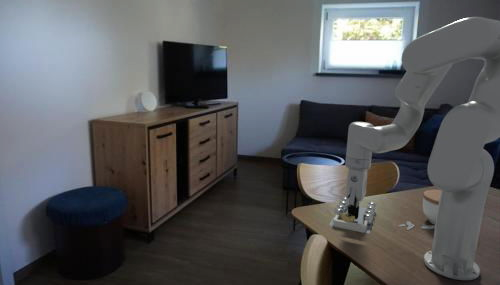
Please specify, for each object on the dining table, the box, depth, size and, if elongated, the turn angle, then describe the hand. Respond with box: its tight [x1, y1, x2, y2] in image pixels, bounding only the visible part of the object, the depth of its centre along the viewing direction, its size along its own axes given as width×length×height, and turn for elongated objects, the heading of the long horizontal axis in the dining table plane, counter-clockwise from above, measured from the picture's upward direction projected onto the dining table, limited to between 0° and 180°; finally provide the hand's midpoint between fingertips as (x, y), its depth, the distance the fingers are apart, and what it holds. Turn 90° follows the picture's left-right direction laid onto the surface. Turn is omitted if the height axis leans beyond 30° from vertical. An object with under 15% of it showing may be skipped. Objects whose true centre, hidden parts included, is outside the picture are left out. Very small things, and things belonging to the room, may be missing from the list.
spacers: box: [333, 196, 377, 226], centre depth 120 cm, size 14×12×3 cm
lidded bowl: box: [422, 189, 442, 225], centre depth 118 cm, size 13×13×11 cm
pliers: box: [397, 221, 435, 231], centre depth 116 cm, size 10×2×15 cm
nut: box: [341, 213, 355, 223], centre depth 113 cm, size 4×4×3 cm
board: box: [328, 206, 377, 235], centre depth 118 cm, size 20×12×3 cm, turn 155°
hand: (352, 217), depth 116 cm, fingers closed
